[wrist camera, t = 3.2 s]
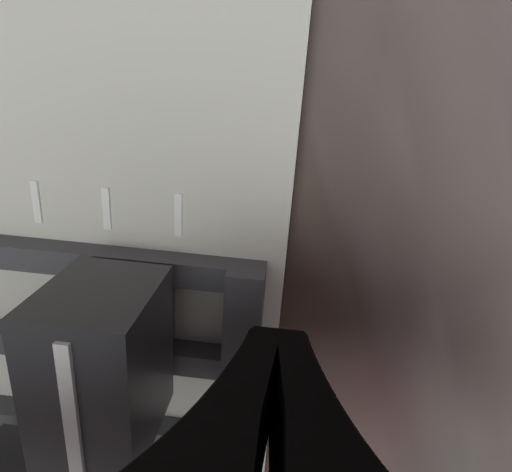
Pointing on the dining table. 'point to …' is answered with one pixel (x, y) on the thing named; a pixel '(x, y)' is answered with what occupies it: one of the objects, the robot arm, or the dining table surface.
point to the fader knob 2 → (92, 364)
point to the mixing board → (153, 159)
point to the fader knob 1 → (11, 449)
